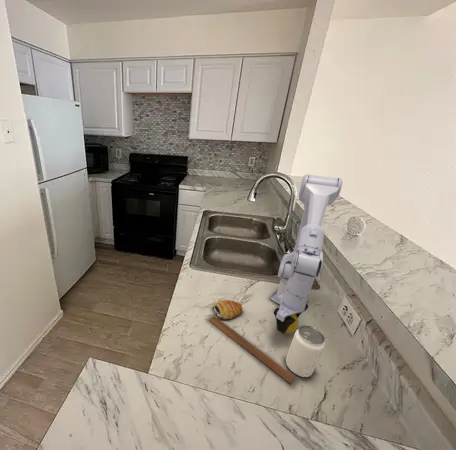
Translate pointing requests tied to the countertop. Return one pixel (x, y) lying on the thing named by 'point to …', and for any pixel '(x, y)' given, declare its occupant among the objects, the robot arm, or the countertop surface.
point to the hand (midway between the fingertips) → (285, 325)
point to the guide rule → (253, 351)
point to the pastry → (227, 309)
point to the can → (305, 350)
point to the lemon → (294, 325)
